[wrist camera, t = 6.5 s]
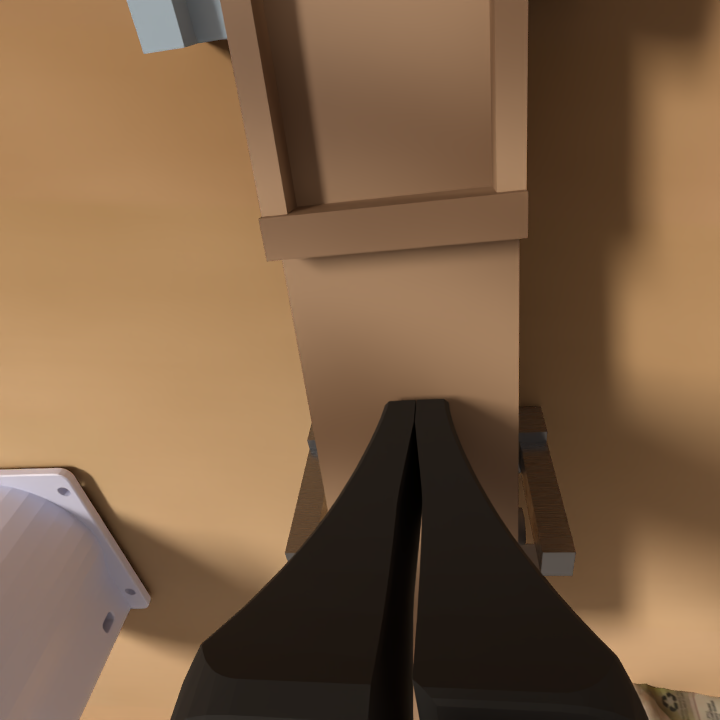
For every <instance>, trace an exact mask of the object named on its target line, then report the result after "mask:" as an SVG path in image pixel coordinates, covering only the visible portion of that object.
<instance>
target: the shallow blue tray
mask: <svg viewBox="0 0 720 720" xmlns="http://www.w3.org/2000/svg"><path fill="white" fill-rule="evenodd" d="M127 3H128V6H129V9H130V12H131V15H132V18H133V21H134V25H135V28H136V31H137V34H138V37H139V40H140V43H141V46H142V50H143V53H144V54H146V53H152V52H159V51H165V50H171V49H178V48H184V47H187V46H191V45H194V44H197V43H203V42H209V41H215V40H222V39H227V35H226V29H225V24H224V19H223V14H222V9H221V3H220V0H127Z"/></svg>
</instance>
